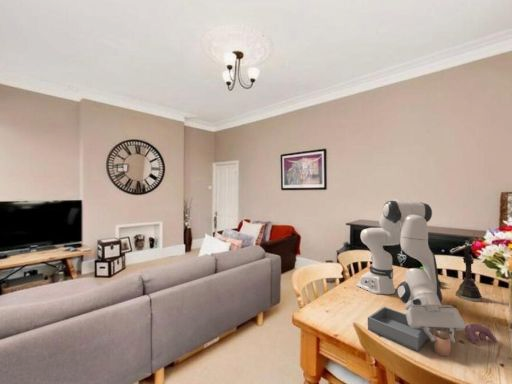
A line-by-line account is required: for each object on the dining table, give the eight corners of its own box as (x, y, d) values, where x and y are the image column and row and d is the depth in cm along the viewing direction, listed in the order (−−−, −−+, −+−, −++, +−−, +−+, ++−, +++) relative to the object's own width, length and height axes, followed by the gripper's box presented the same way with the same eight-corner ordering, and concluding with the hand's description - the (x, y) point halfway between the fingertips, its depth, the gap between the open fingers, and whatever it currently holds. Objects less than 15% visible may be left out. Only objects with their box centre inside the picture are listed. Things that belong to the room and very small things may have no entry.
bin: (367, 329, 111) (367, 317, 111) (384, 317, 121) (384, 306, 121) (417, 351, 96) (417, 337, 96) (432, 336, 106) (431, 323, 105)
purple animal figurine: (490, 342, 103) (483, 323, 106) (499, 343, 99) (492, 324, 102) (466, 342, 103) (460, 323, 107) (474, 343, 99) (467, 324, 102)
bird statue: (442, 295, 146) (442, 236, 145) (448, 288, 154) (447, 233, 154) (480, 304, 133) (479, 240, 133) (483, 297, 141) (483, 236, 141)
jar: (431, 351, 96) (431, 331, 96) (436, 345, 99) (436, 326, 99) (448, 358, 92) (448, 337, 92) (452, 352, 95) (452, 332, 95)
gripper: (451, 308, 105) (468, 345, 96) (400, 306, 108) (412, 342, 98) (458, 302, 101) (477, 341, 91) (405, 300, 103) (418, 337, 94)
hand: (443, 341), depth 95 cm, fingers closed on jar, 5 cm apart
